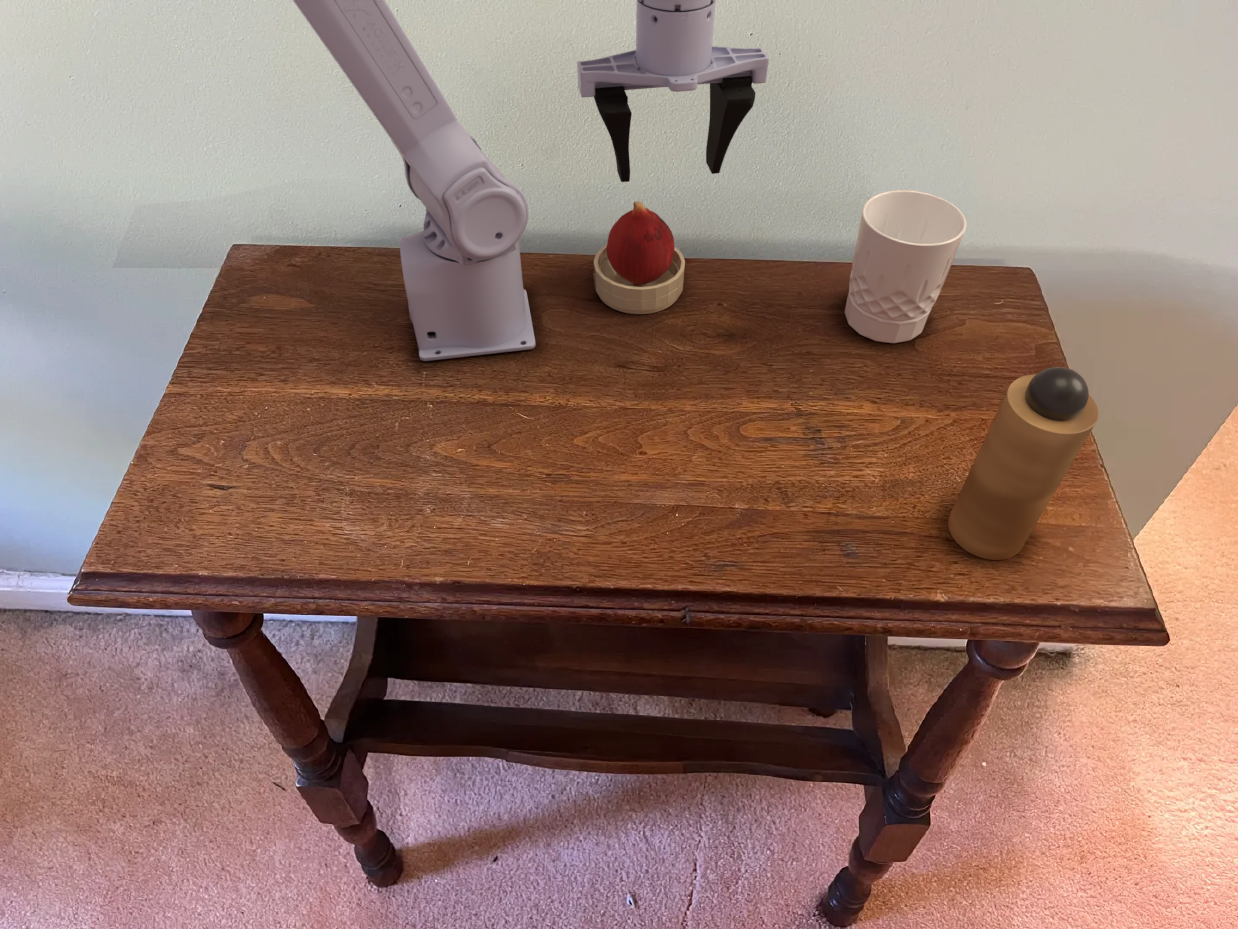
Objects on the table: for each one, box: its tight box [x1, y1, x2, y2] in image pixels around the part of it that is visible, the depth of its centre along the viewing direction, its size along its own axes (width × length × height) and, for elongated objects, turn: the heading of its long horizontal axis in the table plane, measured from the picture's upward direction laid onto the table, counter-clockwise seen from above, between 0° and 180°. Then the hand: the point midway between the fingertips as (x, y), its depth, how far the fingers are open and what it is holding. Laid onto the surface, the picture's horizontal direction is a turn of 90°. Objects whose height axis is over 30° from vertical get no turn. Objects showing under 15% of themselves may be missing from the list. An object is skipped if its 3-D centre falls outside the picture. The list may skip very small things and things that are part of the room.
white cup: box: [844, 189, 968, 344], centre depth 70 cm, size 8×8×10 cm
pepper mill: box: [947, 366, 1099, 561], centre depth 53 cm, size 5×5×14 cm
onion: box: [606, 200, 676, 286], centre depth 73 cm, size 6×6×8 cm
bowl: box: [593, 244, 686, 315], centre depth 75 cm, size 8×8×3 cm
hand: (668, 171), depth 71 cm, fingers open, 7 cm apart
